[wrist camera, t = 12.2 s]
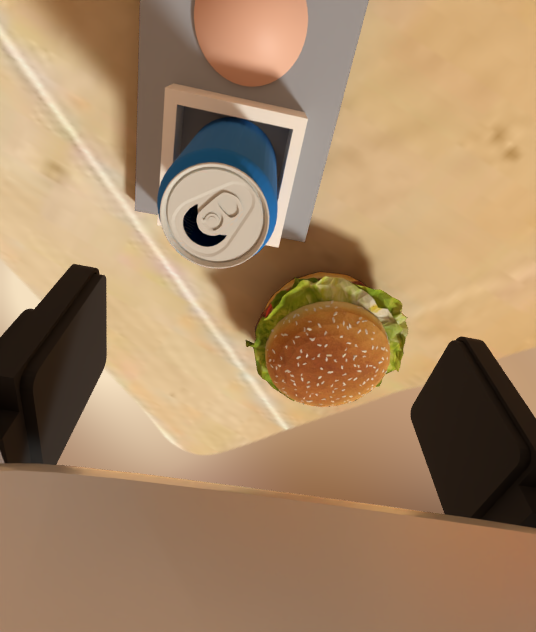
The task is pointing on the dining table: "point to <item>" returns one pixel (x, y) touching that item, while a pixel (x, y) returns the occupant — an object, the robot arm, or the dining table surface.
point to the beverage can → (221, 194)
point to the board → (245, 87)
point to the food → (328, 339)
